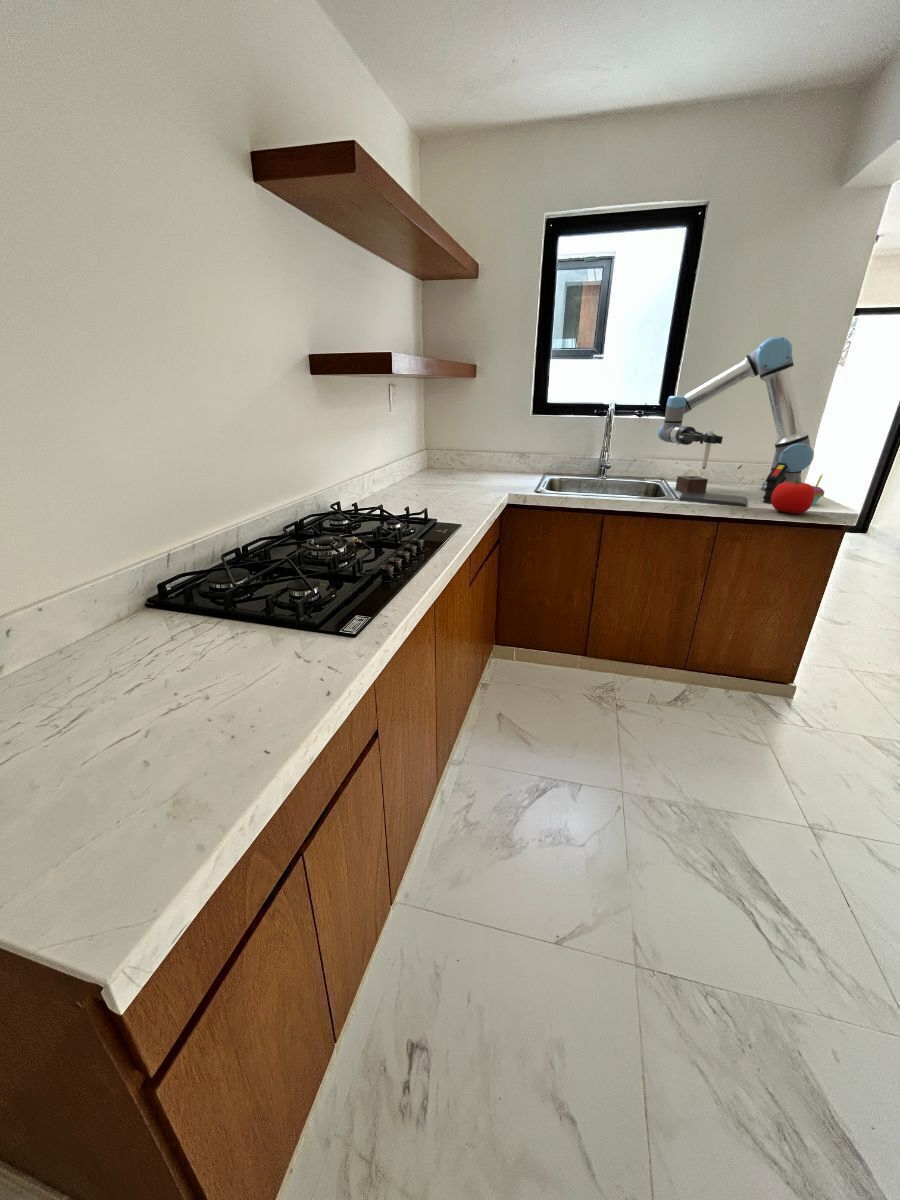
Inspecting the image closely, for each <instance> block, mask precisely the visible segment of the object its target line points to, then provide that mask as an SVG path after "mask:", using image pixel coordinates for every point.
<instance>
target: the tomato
mask: <svg viewBox="0 0 900 1200" xmlns="http://www.w3.org/2000/svg"><path fill="white" fill-rule="evenodd" d="M812 486H813V485H811V484H809V483H807V482H801V483H800V482H797V481H795V482H792V481H791V482H783V483H781V484H779V485H778V486H777V487H776V488H775V489H774V491H773V493H772V496H771V502H772V503H771V505H772V507H773V508H774V509H775V510H776V511H778V512H781V513H787V514H804V513H805V512H807V511H808V510H809V509H810V508H811V506H813V505H812V503H813V500H814V489H813V487H812Z"/></svg>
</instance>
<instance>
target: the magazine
mask: <svg viewBox="0 0 900 1200" xmlns="http://www.w3.org/2000/svg"><path fill="white" fill-rule="evenodd" d="M787 468H788V466H787V463H778V464H777V465H776V466H775V468H774V469H773V470H772V472H771V473H770V472H769V473H770V474H768V475H767V477H768V478H767V477H766V478H767V479H766V478H765V480H766V482H767V487H766V488H765V490H766V491H765V490H764V491H765V494H764V495H763V496H762V499H763V503H765V504H772V502H771V496H772V493H773V491H774V489H775V488H776V487H777V486H778V485H779V484H781V483H783V482H784V481H785V480H786V477H785V474H786V469H787Z"/></svg>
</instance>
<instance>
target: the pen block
mask: <svg viewBox="0 0 900 1200" xmlns="http://www.w3.org/2000/svg"><path fill="white" fill-rule="evenodd" d="M707 486H708V478H705V477H703V476H702V477H701V476H697V475H677V478H676V483H675V488H674V490H676V491H678V492H681V493H683V492H684V491H687V492H699V493H706V491H707Z"/></svg>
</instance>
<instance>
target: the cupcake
mask: <svg viewBox="0 0 900 1200" xmlns="http://www.w3.org/2000/svg"><path fill="white" fill-rule="evenodd" d="M823 475H824V473H821V475H820V476H819V477H818V480H817V482H816V484H815V485H811V486H812V487H813V489H814V500H813V503H812V505H811V506H815V505H816V504H817V503H818V502H819V500H820V499H821V498H822V497H824V496H825V490H824V489H823V488H821V487H820V486H819V484H820V482H821V480H822V478H823Z"/></svg>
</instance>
